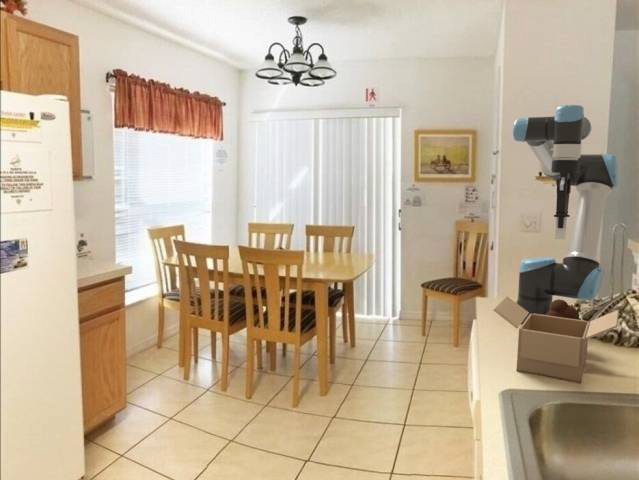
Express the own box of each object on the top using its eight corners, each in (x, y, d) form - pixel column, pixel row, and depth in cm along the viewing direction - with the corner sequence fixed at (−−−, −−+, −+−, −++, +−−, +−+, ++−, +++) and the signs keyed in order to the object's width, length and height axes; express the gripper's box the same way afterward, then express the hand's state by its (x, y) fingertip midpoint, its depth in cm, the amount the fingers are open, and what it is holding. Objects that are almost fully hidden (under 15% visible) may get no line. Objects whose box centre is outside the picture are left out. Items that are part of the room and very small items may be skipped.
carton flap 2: (618, 309, 150) (619, 311, 149) (590, 321, 153) (591, 322, 153) (616, 325, 134) (617, 327, 134) (585, 337, 138) (586, 339, 138)
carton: (528, 351, 164) (530, 313, 162) (586, 361, 156) (589, 321, 154) (515, 371, 147) (518, 329, 146) (580, 384, 139) (584, 339, 138)
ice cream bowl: (542, 351, 164) (546, 303, 162) (541, 340, 175) (544, 295, 173) (581, 355, 161) (584, 306, 159) (577, 344, 171) (580, 298, 169)
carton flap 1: (529, 312, 162) (528, 313, 162) (507, 296, 164) (506, 297, 164) (518, 327, 146) (517, 328, 147) (494, 308, 149) (493, 310, 149)
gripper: (554, 159, 166) (549, 235, 169) (549, 158, 155) (543, 240, 158) (581, 159, 162) (575, 237, 165) (577, 159, 151) (571, 242, 154)
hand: (560, 238), depth 162 cm, fingers closed
